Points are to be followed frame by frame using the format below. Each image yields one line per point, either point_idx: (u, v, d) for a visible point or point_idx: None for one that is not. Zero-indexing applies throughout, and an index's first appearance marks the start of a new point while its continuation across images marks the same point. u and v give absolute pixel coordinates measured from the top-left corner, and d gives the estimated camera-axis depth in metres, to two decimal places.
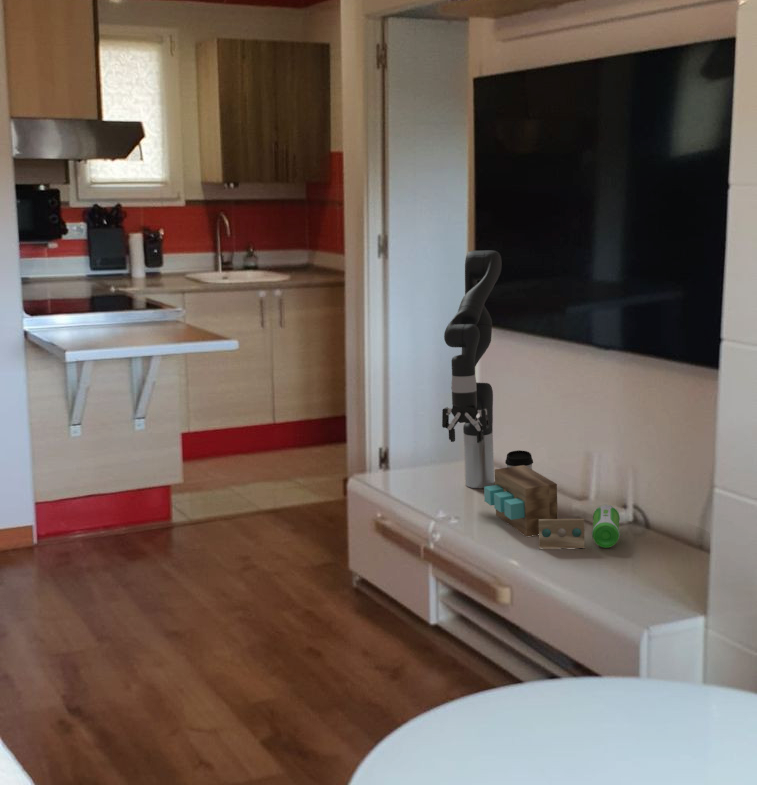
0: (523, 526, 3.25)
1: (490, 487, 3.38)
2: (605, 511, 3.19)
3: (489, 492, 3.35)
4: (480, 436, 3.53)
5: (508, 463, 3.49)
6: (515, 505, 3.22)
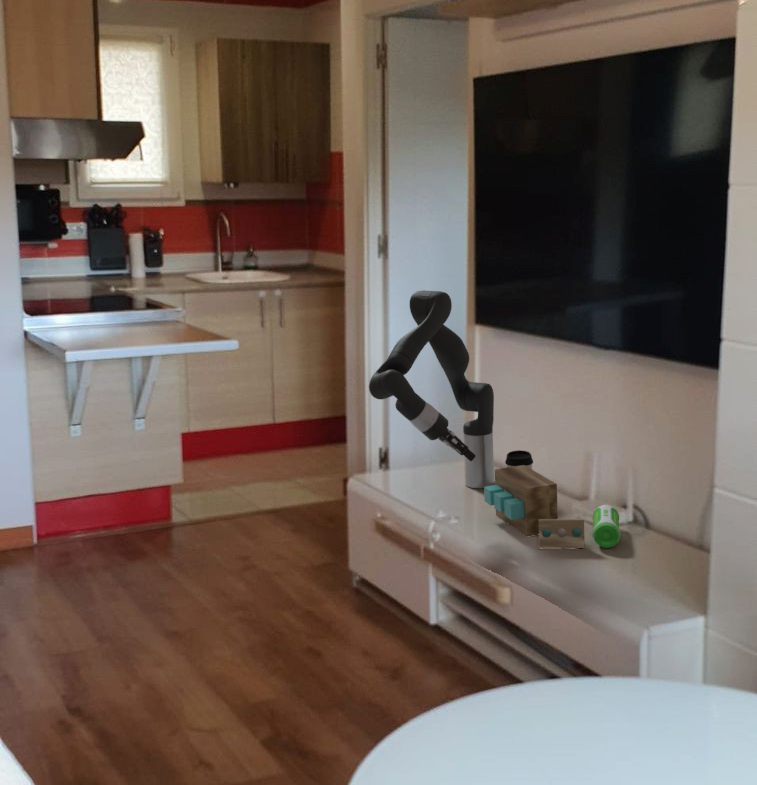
0: (523, 526, 3.25)
1: (490, 487, 3.38)
2: (605, 511, 3.19)
3: (489, 492, 3.35)
4: (467, 456, 3.28)
5: (508, 463, 3.49)
6: (515, 505, 3.22)
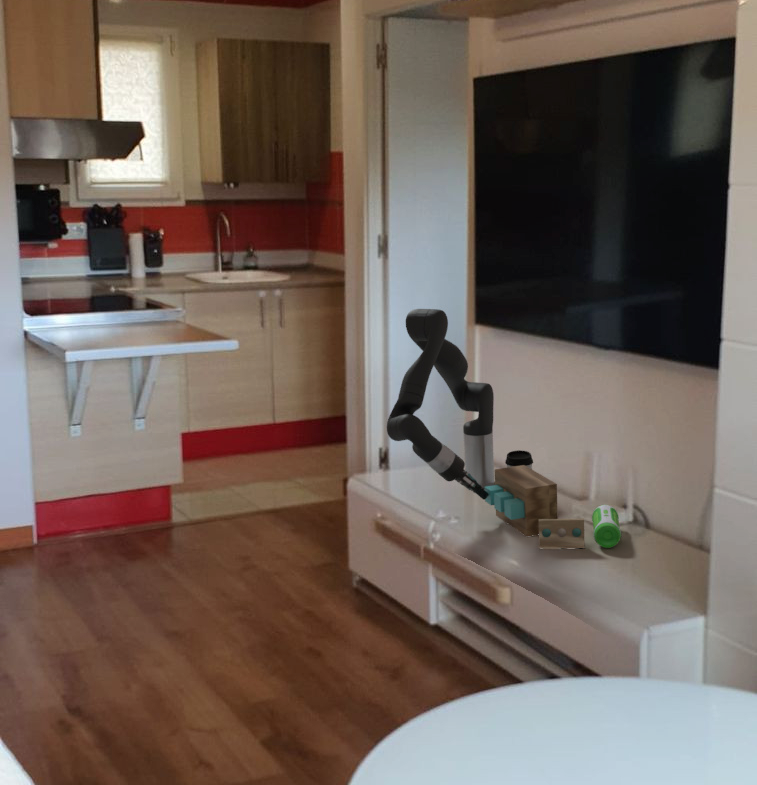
0: (523, 526, 3.25)
1: (490, 487, 3.38)
2: (605, 511, 3.19)
3: (490, 492, 3.35)
4: (481, 495, 3.35)
5: (508, 463, 3.49)
6: (515, 505, 3.22)
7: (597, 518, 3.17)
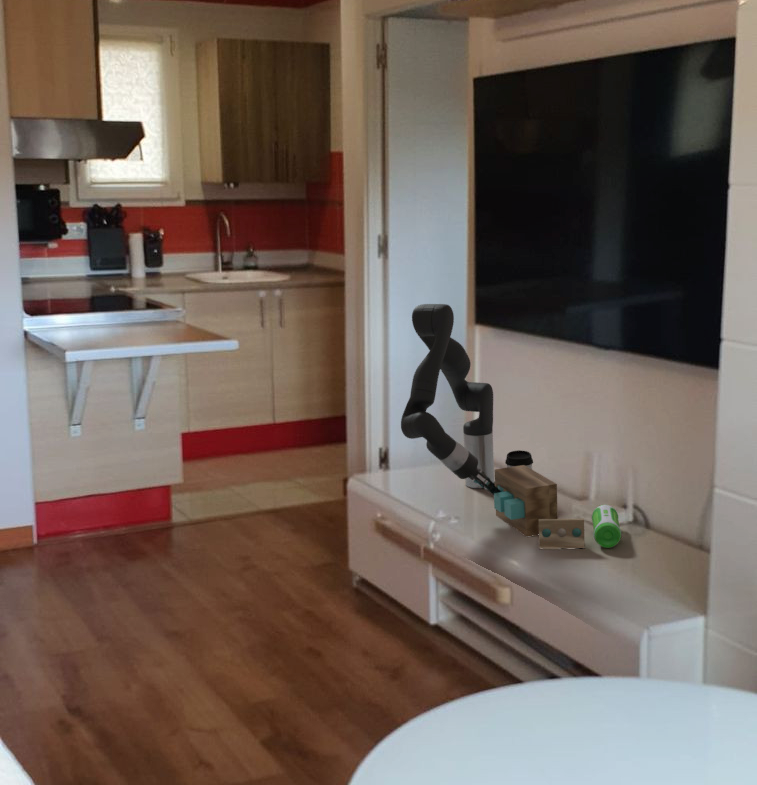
0: (523, 526, 3.25)
1: None
2: (605, 511, 3.19)
3: None
4: None
5: (508, 463, 3.49)
6: (515, 505, 3.22)
7: (597, 518, 3.17)
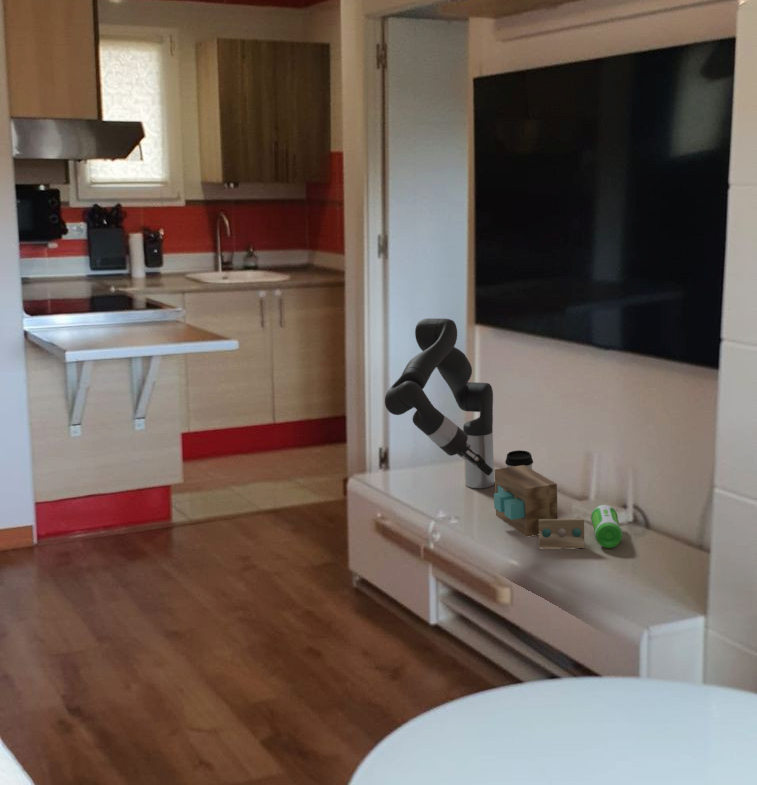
0: (523, 526, 3.25)
1: None
2: (605, 511, 3.19)
3: None
4: (484, 471, 3.18)
5: (508, 463, 3.49)
6: (515, 505, 3.22)
7: (597, 518, 3.17)
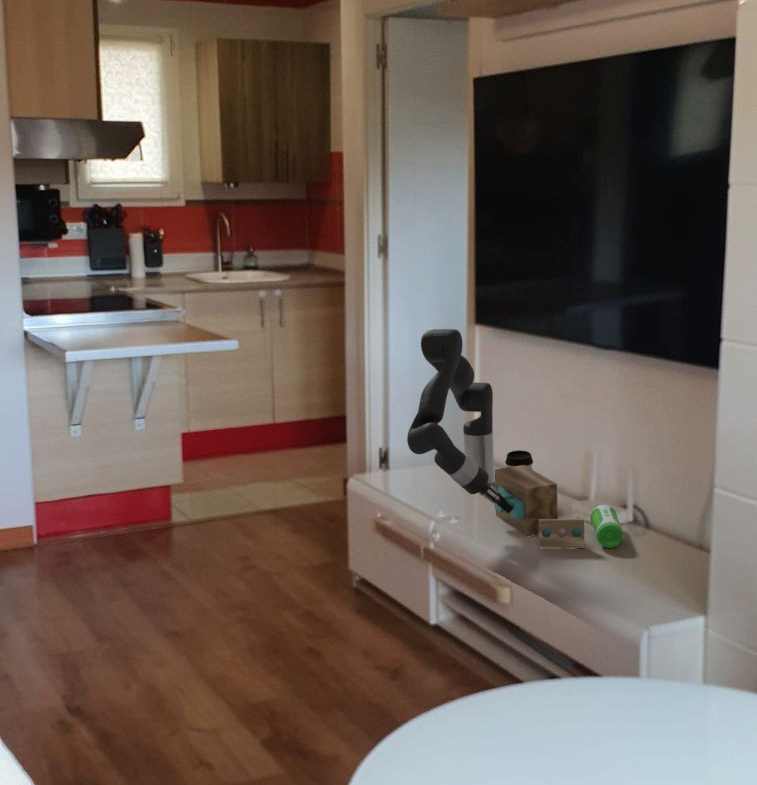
0: (523, 526, 3.25)
1: None
2: (605, 511, 3.19)
3: None
4: (505, 508, 3.23)
5: (508, 463, 3.49)
6: (520, 504, 3.22)
7: (598, 518, 3.17)
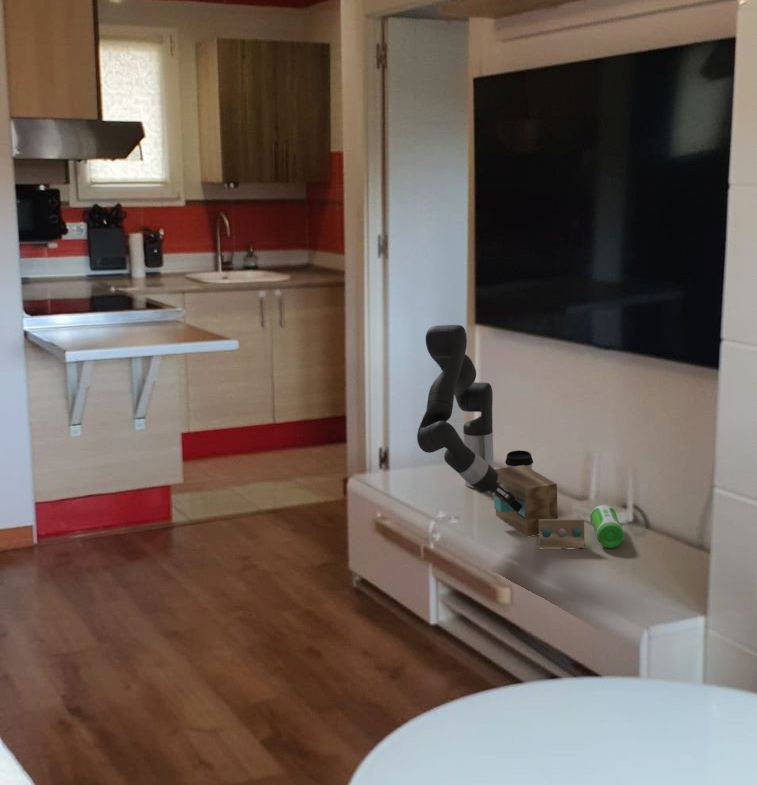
0: (523, 526, 3.25)
1: None
2: (605, 511, 3.19)
3: None
4: (514, 507, 3.23)
5: (508, 463, 3.49)
6: None
7: (598, 518, 3.17)
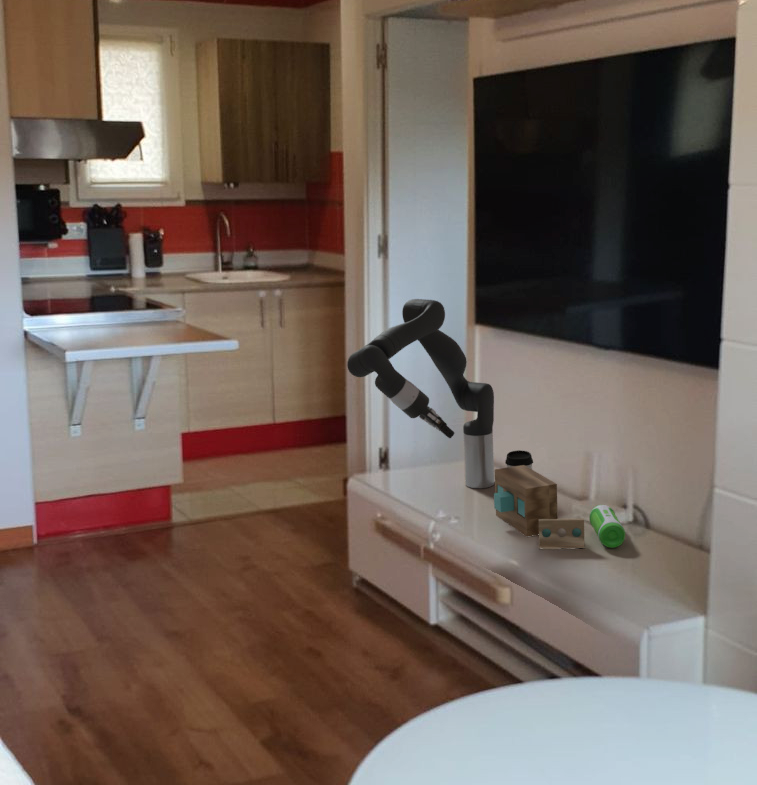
0: (523, 526, 3.25)
1: None
2: (605, 511, 3.19)
3: None
4: (446, 433, 3.25)
5: (508, 463, 3.49)
6: None
7: (598, 518, 3.17)
